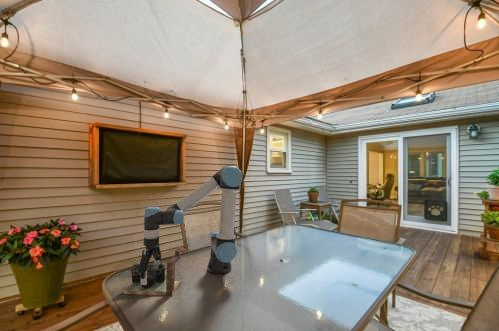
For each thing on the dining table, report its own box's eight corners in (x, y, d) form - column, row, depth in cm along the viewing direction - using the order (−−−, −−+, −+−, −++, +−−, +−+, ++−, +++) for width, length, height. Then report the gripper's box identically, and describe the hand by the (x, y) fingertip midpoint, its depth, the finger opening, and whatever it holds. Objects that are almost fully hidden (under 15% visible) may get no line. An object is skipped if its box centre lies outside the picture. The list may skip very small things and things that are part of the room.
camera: (126, 292, 113) (125, 274, 111) (132, 280, 122) (131, 263, 120) (163, 290, 116) (163, 272, 114) (166, 277, 125) (166, 261, 123)
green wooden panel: (181, 283, 123) (182, 249, 124) (172, 295, 111) (173, 257, 112) (136, 282, 125) (137, 248, 125) (123, 293, 113) (124, 255, 113)
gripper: (155, 230, 132) (154, 268, 131) (131, 244, 107) (129, 290, 106) (168, 231, 131) (167, 268, 131) (146, 244, 106) (145, 290, 106)
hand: (150, 278), depth 118 cm, fingers open, 13 cm apart
